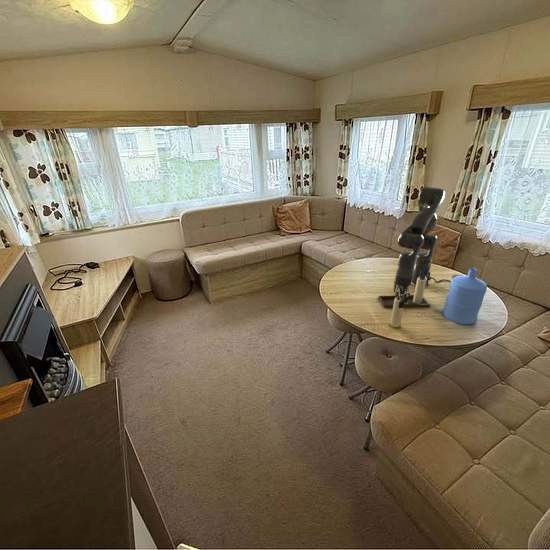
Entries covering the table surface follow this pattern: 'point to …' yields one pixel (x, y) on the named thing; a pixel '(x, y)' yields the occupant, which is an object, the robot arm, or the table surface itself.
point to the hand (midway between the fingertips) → (398, 304)
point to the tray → (389, 302)
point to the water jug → (465, 298)
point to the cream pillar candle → (396, 313)
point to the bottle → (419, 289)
